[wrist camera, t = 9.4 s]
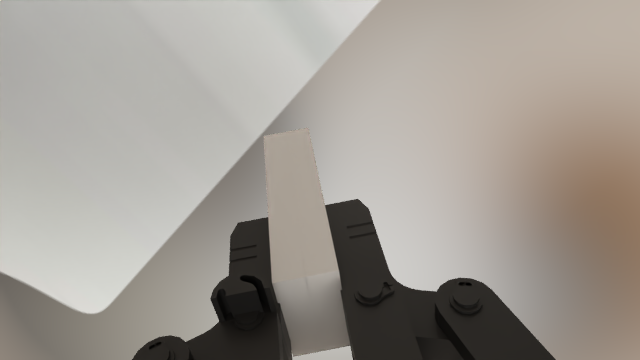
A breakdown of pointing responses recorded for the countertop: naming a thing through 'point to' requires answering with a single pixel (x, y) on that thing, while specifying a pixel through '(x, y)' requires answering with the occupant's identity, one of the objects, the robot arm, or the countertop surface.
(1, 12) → the countertop surface
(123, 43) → the countertop surface
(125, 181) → the countertop surface
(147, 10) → the countertop surface
